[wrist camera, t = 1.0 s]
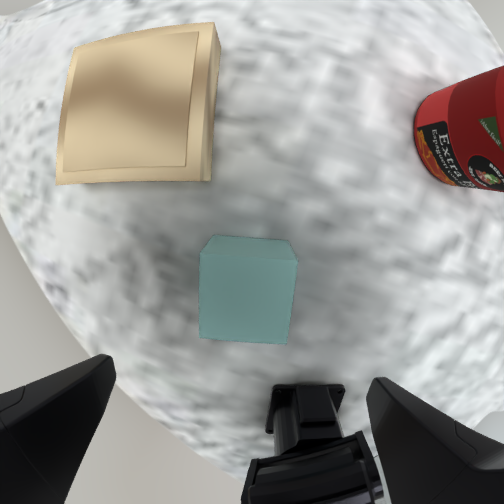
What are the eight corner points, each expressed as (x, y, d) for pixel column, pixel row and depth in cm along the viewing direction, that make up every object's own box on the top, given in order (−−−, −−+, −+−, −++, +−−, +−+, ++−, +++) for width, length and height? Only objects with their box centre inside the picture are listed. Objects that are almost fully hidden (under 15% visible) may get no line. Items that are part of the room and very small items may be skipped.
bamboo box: (211, 181, 18) (198, 181, 14) (86, 182, 18) (53, 185, 14) (221, 48, 16) (213, 20, 12) (99, 64, 16) (72, 46, 12)
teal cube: (279, 307, 20) (286, 344, 15) (211, 302, 20) (199, 337, 15) (287, 240, 19) (298, 260, 14) (213, 234, 19) (199, 253, 14)
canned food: (394, 141, 17) (505, 120, 6) (433, 74, 15) (524, 34, 5) (456, 206, 18) (560, 232, 7) (488, 138, 16) (580, 135, 6)
